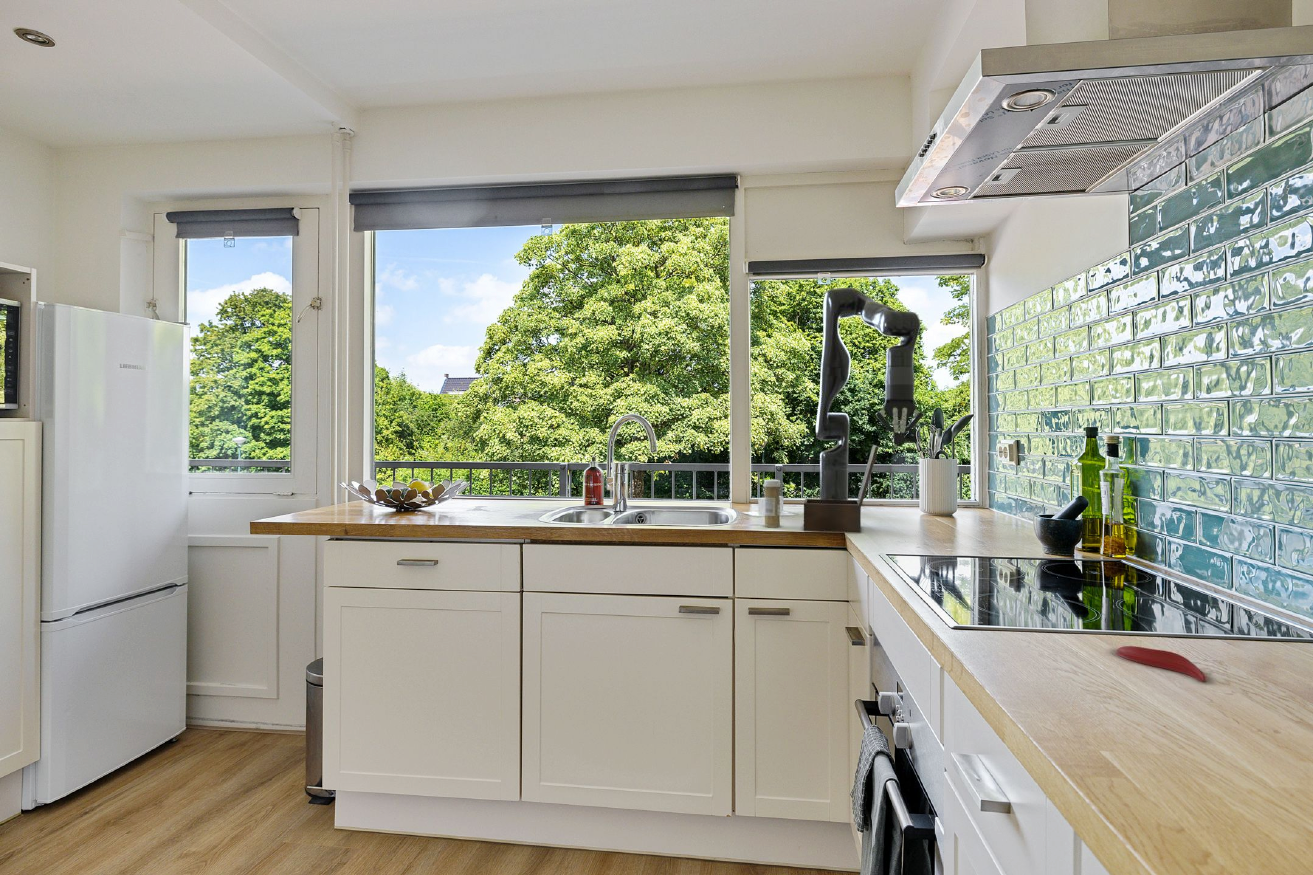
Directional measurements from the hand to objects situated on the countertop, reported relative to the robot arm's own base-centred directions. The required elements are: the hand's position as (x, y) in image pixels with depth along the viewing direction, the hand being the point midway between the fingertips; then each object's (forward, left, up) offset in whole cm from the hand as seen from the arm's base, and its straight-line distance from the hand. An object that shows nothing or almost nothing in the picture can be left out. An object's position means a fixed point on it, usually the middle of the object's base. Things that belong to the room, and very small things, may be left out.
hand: (898, 446), depth 205 cm
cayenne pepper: (+93, +67, -24) cm, 117 cm away
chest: (+8, -16, -24) cm, 30 cm away
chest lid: (+4, -8, -8) cm, 11 cm away
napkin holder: (-11, -47, -24) cm, 54 cm away
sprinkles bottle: (+15, -31, -24) cm, 42 cm away
